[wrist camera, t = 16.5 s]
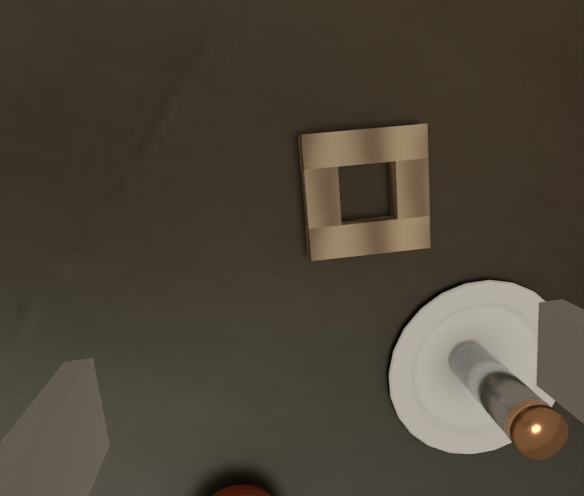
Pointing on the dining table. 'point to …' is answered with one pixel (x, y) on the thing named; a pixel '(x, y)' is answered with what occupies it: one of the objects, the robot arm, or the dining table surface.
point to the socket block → (402, 191)
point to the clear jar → (510, 402)
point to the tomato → (242, 491)
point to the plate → (440, 350)
